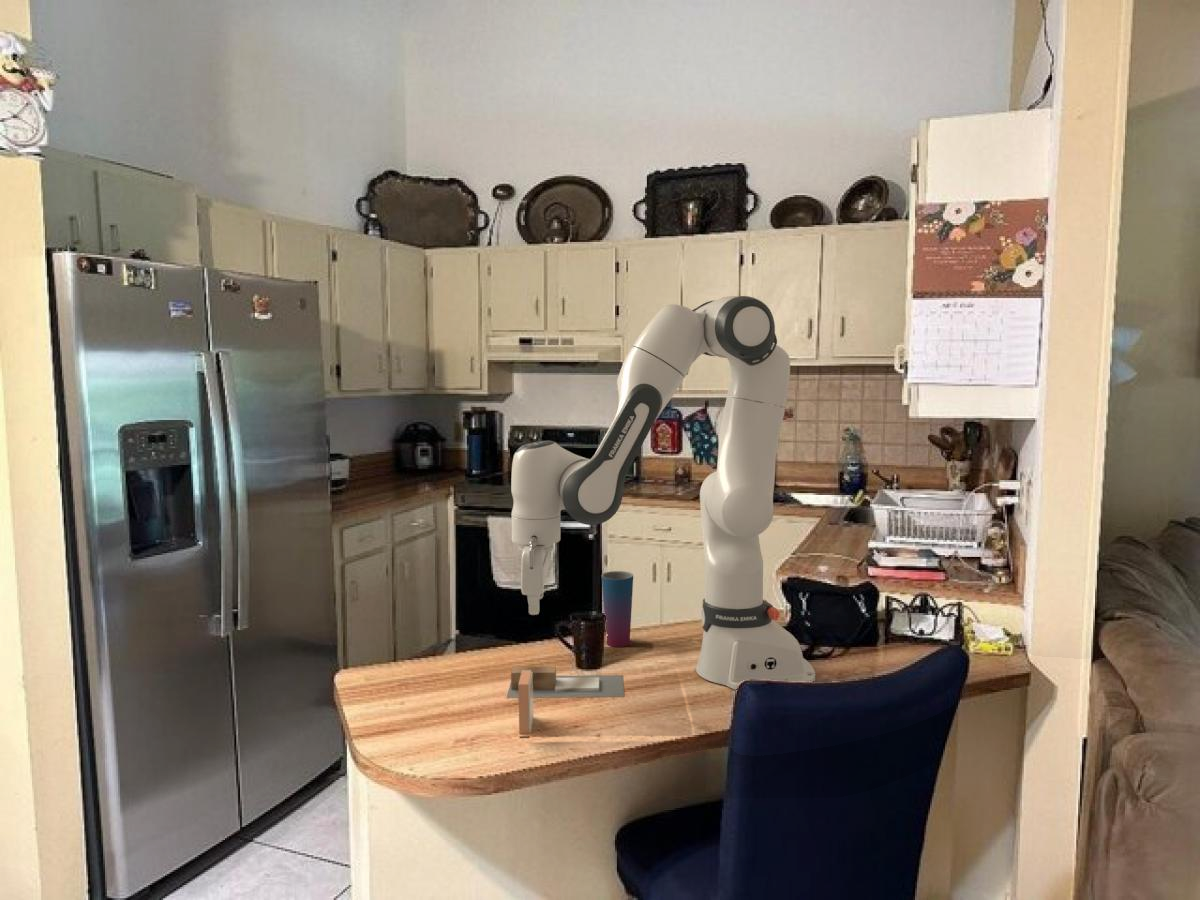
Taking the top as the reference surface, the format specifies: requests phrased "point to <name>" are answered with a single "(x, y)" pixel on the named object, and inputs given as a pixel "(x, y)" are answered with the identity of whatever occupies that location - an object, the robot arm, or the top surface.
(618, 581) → the cup
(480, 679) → the top surface
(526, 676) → the tile
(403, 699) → the top surface
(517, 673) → the turner
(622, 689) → the rest mat
